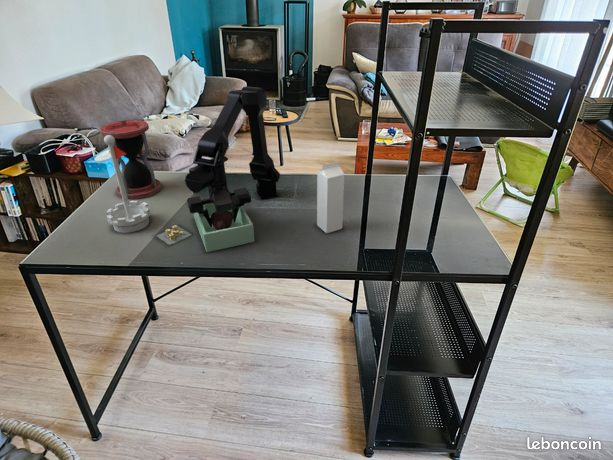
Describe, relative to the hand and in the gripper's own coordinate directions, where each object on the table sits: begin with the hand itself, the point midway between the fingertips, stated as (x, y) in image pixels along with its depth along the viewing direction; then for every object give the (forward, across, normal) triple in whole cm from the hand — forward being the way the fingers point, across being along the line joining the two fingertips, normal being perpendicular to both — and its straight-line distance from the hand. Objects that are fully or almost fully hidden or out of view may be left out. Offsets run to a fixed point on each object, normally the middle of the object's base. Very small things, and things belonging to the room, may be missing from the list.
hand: (222, 224), depth 130 cm
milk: (+2, +32, -12) cm, 34 cm away
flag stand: (+2, -27, +16) cm, 32 cm away
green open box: (+2, 0, 0) cm, 2 cm away
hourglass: (+2, -23, +43) cm, 49 cm away
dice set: (+2, -15, +3) cm, 16 cm away
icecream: (+2, 0, 0) cm, 2 cm away
